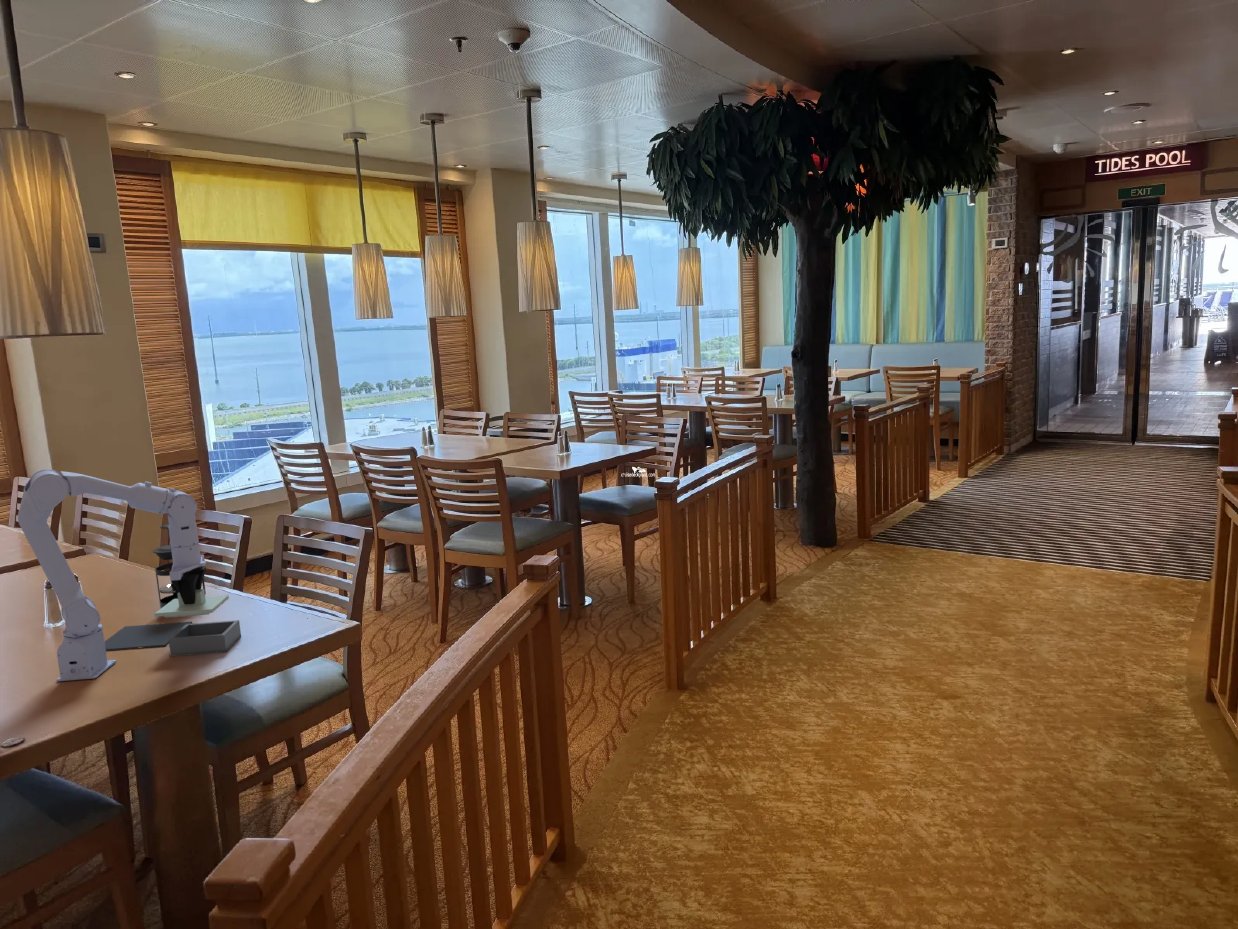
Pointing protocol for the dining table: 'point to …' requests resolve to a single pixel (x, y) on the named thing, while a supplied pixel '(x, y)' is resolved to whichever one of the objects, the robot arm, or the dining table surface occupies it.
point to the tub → (205, 638)
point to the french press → (167, 573)
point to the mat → (143, 636)
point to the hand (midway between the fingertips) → (192, 602)
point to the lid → (192, 605)
